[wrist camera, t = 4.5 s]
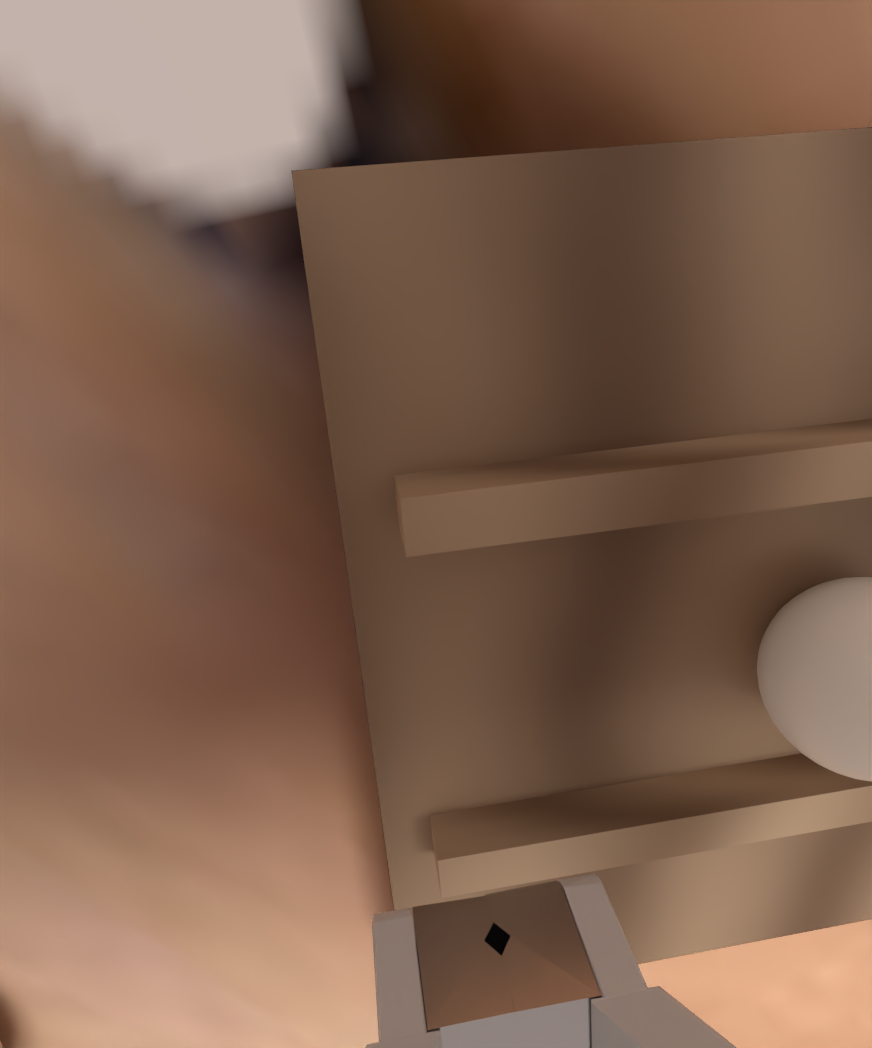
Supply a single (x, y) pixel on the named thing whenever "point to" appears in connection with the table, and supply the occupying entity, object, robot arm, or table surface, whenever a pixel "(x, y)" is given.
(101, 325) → the table surface
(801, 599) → the ball
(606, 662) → the board
